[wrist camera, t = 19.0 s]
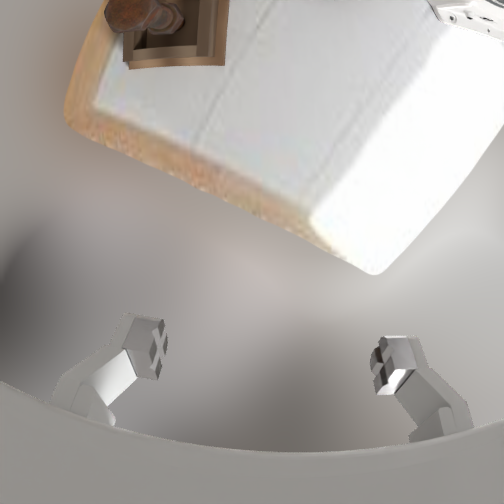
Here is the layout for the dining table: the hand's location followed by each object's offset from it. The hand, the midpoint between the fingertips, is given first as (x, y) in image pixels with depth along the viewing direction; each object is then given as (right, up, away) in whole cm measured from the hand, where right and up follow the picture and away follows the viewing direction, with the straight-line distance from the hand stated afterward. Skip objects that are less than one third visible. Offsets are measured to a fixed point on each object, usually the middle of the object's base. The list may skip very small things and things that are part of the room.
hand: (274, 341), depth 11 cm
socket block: (-11, +35, +21) cm, 43 cm away
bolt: (-11, +35, +21) cm, 42 cm away
